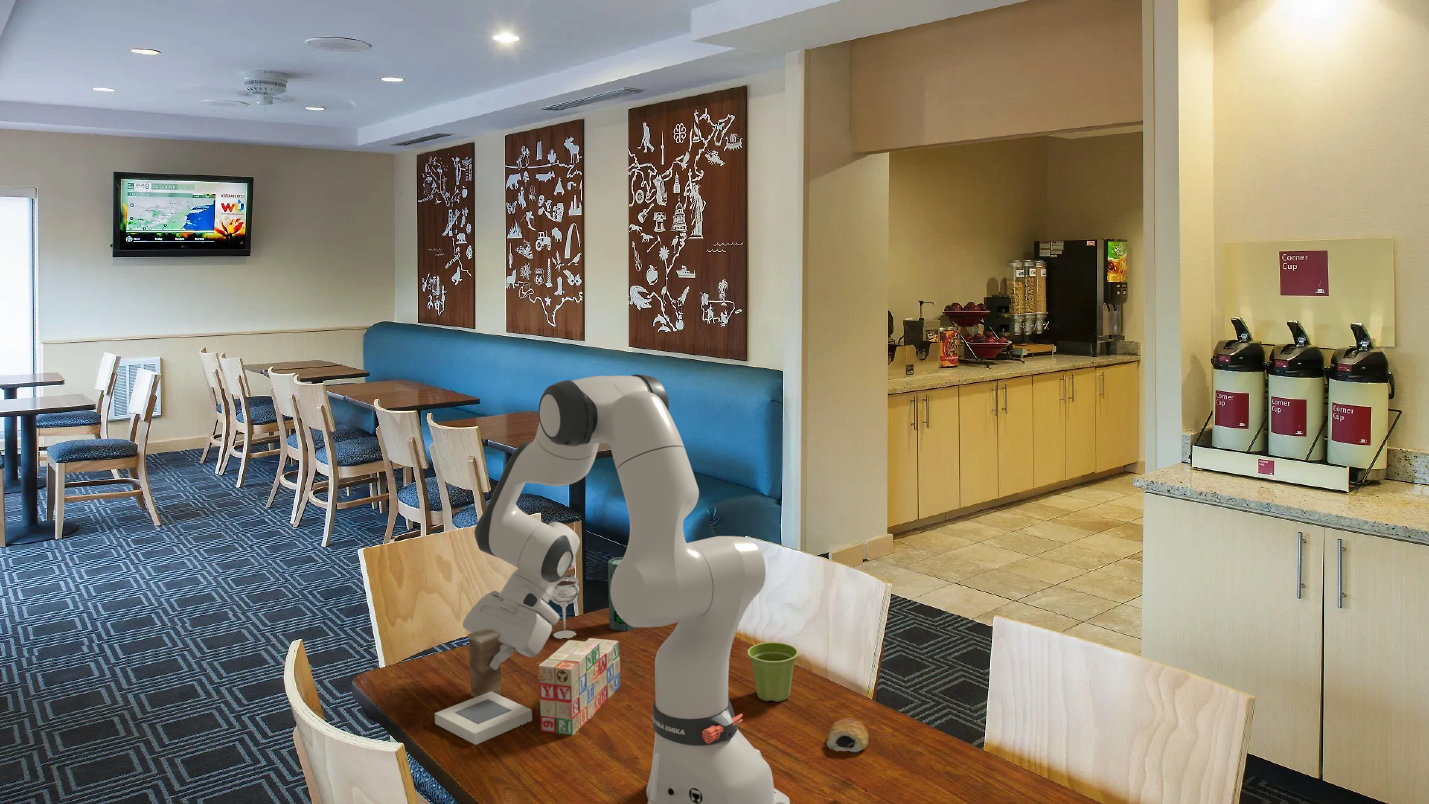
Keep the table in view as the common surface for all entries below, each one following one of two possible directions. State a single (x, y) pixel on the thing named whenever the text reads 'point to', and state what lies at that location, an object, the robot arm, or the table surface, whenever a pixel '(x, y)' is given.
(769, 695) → the plant pot
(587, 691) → the stack of blocks
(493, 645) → the brown tall block
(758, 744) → the table surface
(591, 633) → the table surface
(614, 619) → the can
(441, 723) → the plate
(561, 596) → the wineglass
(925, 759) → the table surface
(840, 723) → the pastry
